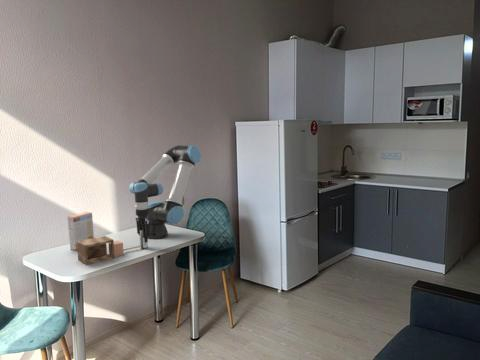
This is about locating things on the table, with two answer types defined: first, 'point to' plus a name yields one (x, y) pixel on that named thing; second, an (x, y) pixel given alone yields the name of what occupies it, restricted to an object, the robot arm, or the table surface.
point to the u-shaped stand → (119, 248)
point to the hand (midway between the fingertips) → (144, 246)
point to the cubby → (94, 250)
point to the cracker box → (80, 228)
